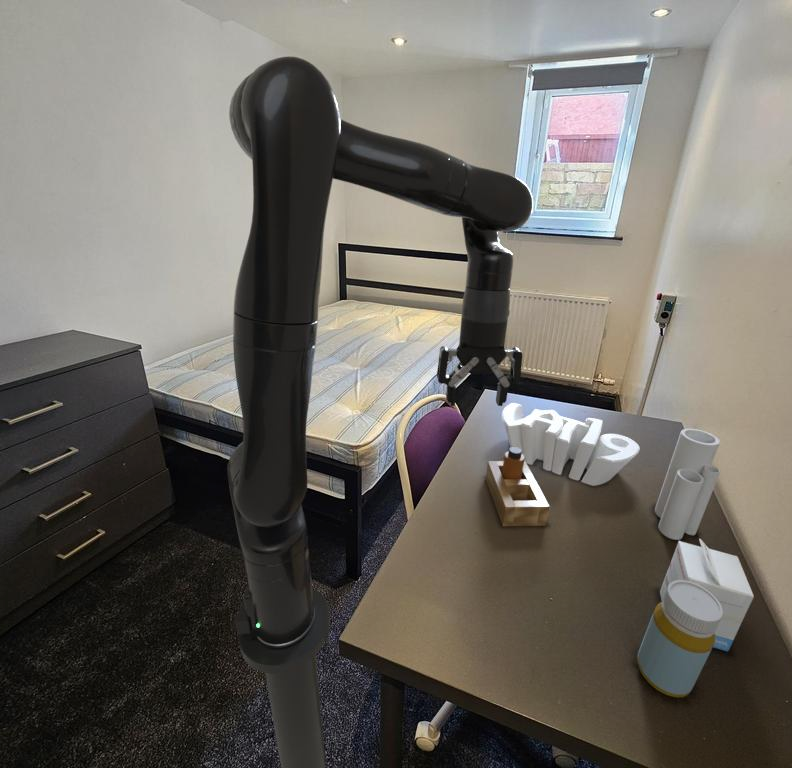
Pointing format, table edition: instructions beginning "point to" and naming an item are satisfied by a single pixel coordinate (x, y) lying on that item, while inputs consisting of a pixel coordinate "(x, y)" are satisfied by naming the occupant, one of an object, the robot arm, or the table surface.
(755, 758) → the table surface
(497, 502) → the hole block
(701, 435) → the vase
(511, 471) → the small bottle
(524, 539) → the table surface
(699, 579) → the tissue box
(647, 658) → the bottle
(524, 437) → the white foam letters
